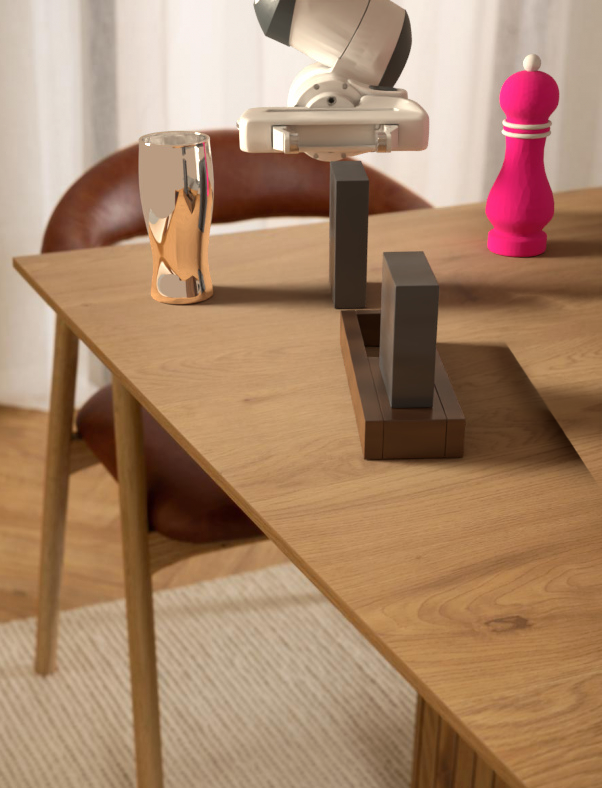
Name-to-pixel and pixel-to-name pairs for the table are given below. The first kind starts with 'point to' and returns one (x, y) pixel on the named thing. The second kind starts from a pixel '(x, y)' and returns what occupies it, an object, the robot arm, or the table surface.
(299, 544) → the table surface
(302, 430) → the table surface
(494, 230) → the pepper mill
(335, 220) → the back pad
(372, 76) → the robot arm
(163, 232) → the beer glass
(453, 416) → the backrest rail
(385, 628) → the table surface
